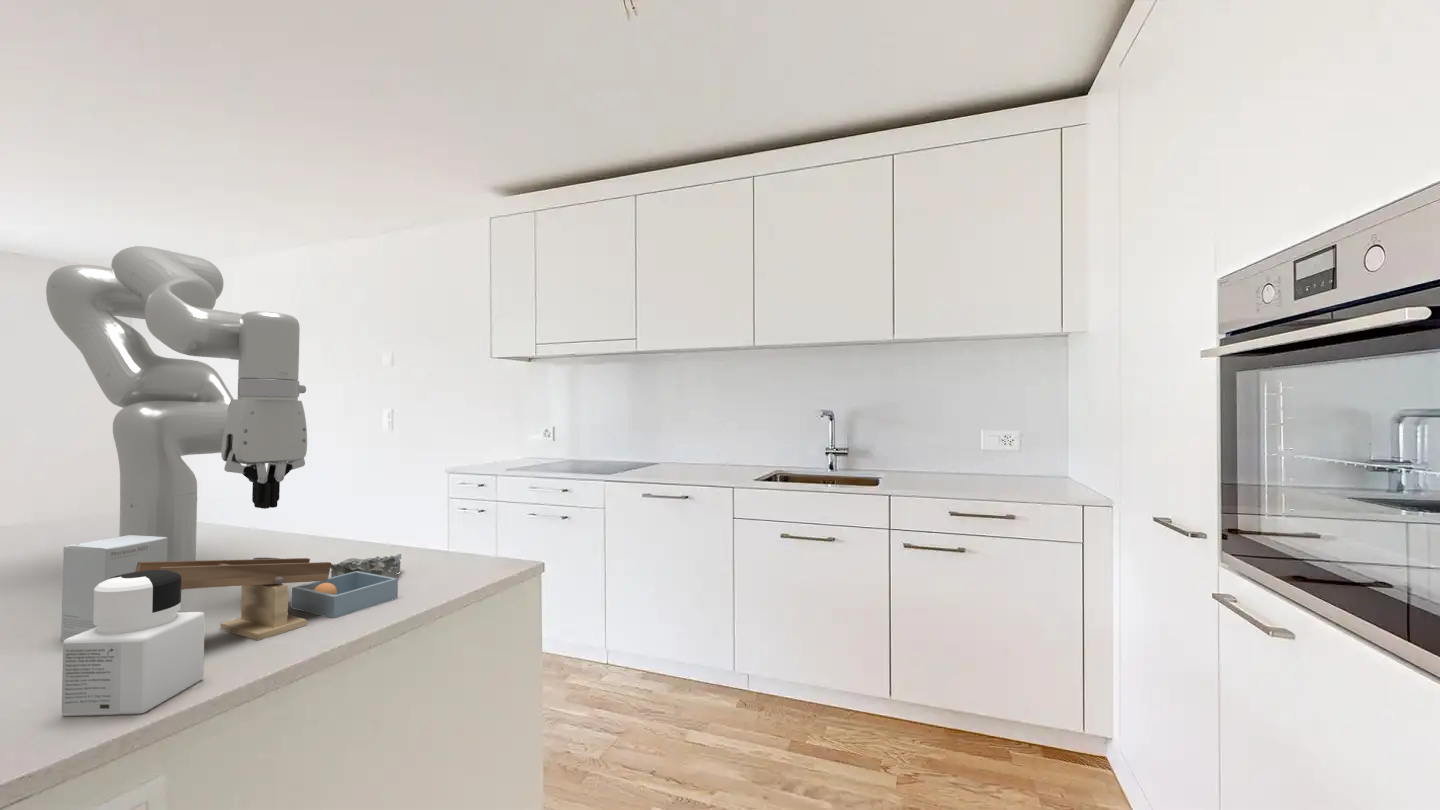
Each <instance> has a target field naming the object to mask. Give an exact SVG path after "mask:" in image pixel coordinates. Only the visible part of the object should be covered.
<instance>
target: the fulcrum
mask: <svg viewBox="0 0 1440 810" xmlns="http://www.w3.org/2000/svg"><path fill="white" fill-rule="evenodd" d="M288 591H289V585H287V584H286V583H282V584H263V585H246V586H241V596H240V597H241V600H240V605H241V606H240V607H241V609H240V611H241V612H240V617H237V618H235V619H231V620H228V621H224V622H221V623H220V627H219V628H220V630H222V631H226V632H230V633H232V634H236V635H239V636H242V637H245V638H248V639H251V640H255V641H261V640H264V639H266V638H271V637H273V636H277V635H280V634H282V633H286V632H289V631H292V630H295V629H298V628H302V627H305V626H307V619H305V618H302V617H297V616H295V615H290V614H288V607H289V606H288V605H289V604H288V600H289V599H288V595H289V593H288Z"/></svg>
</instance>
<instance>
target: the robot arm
mask: <svg viewBox="0 0 1440 810" xmlns="http://www.w3.org/2000/svg"><path fill="white" fill-rule="evenodd" d="M110 266H111V267H106V266H101V265H100V266H99V265H92V264H91V265H90V264H72V265H71V264H70V265H67V266H65V265H64V266H62V267H59V268H57V269H55V270H54V271H52V272H51V274H50V276H49V277H48V278H47V282H46V286H45V293H46V294H45V296H46V301H47V303H46V304H47V306H48V310H49V312H50V315H51V317H52V319H53V320H54V322H55V323H56V325H57V326H58V328H59V329H60V330H61V331H62V332H63V334H64V335H65V336H66V337H67V338H68V339H69V341H71V343H73V345H74V346H75V347H76V348H77V349H78V350H79V351H80V353H81V354H82V356H83V358H84V360H85V363H86V365H87V367H88V368H89V369H90V371H91V373H92V375H93V376H94V379H95V380H96V382H97V384H98V386H99V387H100V390H101V391H102V393H103V394H104V396H105V397H106V398H107V400H108V401H109V402H110V403H112V405H115V406H117V407H120V408H122V409H120V410H119V411H118V412H117V413H116V415H115V416H114V418H113V421H112V435H113V440H114V443H115V447H116V453H117V458H118V465H119V534H118V535H119V536H118V537H122V536H128V535H136V536H155V537H167V538H168V543H167V561H197V527H198V525H197V524H198V523H197V522H198V521H197V519H198V517H197V516H198V514H197V513H198V511H197V510H198V480H197V478H196V475H195V473H194V471H193V470H192V469H191V467H190V466H188V465H187V463H186V462H185V461H184V459H182V457H183V456H192V455H207V454H209V455H210V454H211V455H212V454H219V453H220V454H221V456H220V457H221V459H222V461H224V462H225V465H224V471H225V472H228V473H235V474H242V475H243V476H244V477H245V478H246V479H248V481H249V482H250V483H252V493H251V494H252V495H251V496H252V497H251V498H252V499H251V501H252V503H253V505H254V508H257V509H264V510H265V509H270V508H277V507H278V501H280V488H281V485H280V484H281V482H283V481H284V480H285V477H286V475H288V474H289V473H290V472H291V471H292V470H296V469H299V468H303V467H305V465H306V460H305V458H306V456H307V452H308V431H307V430H308V428H307V419H306V413H305V408H304V405H303V401H302V400H299V397H300V394H305V393H306V392H307V388H306V385H304V384H303V385H301V384H300V381H299V372H300V371H299V369H300V367H299V365H300V364H299V363H300V329H301V327H300V326H301V325H300V322H299V320H298V319H297V318H296V317H295V316H292V315H289V314H286V313H282V312H281V313H280V312H273V311H257V310H256V311H247V312H245V313H238V312H231V311H226V310H225V311H224V310H219V309H214V307H215V305H216V302H217V300H218V299H219V297H220V296H221V295H222V292H223V289H224V277H223V275H222V273H221V271H220V269H219V268H218V266H216V265H215V264H214V263H213V262H211V261H210V260H207V259H205V258H203V257H198V256H194V255H190V254H185V253H181V252H176V251H170V250H166V249H162V248H158V247H153V246H139V245H137V246H135V245H134V246H130V247H126V248H123V249H121V250H120V251H118V252H117V253H116V254H115V255H114V256H113V258H112V259H111V265H110ZM118 317H123V318H130V319H139V320H145V324H146V328H147V330H148V331H149V333H150V334H151V335H152V336H153V337H154V338H155V339H157V340H158V341H159V342H161V343H162V344H164V345H165V346H166V347H168V348H169V349H171V350H172V351H175V352H176V353H178V354H182V355H186V356H191V357H199V358H214V359H215V358H216V359H228V360H234V361H235V360H238V365H237V370H238V371H237V399H234V397H233V395H232V394H231V392H230V390H229V389H228V387H227V385H226V384H225V382H224V381H223V379H222V377H221V375H220V374H219V373H218V371H217V370H216V369H215V368H213V366H210V365H209V364H208V363H205V362H202V361H200V360H194V359H184V358H173V357H165V356H160V355H157V354H156V353H155V352H154V350H153V349H152V348H151V347H150V345H149V343H148V341H147V340H146V338H145V337H144V335H142V334H141V333H140V332H138V330H137V329H135V328H134V327H132V326H131V325H129V324H127V323H126V322H124V320H123V321H122V320H121V319H119V318H118ZM266 464H267V468H266Z"/></svg>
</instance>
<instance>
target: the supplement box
mask: <svg viewBox="0 0 1440 810" xmlns="http://www.w3.org/2000/svg"><path fill="white" fill-rule="evenodd" d="M167 543H168V538H167V537H155V536H136V535H128V536H122V537H119V536H118V537H116V536H115V537H110V538H105V539H98V540H92V541H86V542H80V543H74V544H69V545H65V546H63V558H62V559H63V560H62V561H63V565H62V588H61V589H62V592H61V593H62V594H61V595H62V596H61V621H60V622H61V627H60V628H61V629H60V641H61V642H64V640H65V639H67V638H69V637H72V636H75V635H77V634H80V633H83V632H85V631H88V630H90V629H93V628H96V627H98V626H96V625H94V624H93V618H94V588H95V587H96V586H97V585H98V584H99V583H101V582H103V581H105V580H107V579H109V578H112V577H115V576H118V575H122V574H127V573H132V572H135V571H136V567H137V563H138V562H158V561H167Z"/></svg>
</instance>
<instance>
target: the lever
mask: <svg viewBox="0 0 1440 810" xmlns="http://www.w3.org/2000/svg"><path fill="white" fill-rule="evenodd" d="M310 560H311V558H307V557H304V558H302V557H300V558H297V557H295V558H278V557H253V558H252V559H250V558H249V559H247V558H246V559H214V560H213V559H210V560H205V559H204V560H196V561H158V562H138V563H137V567H136V571H135V572H139V571H147V570H168V571H173V572H177V573H178V574H180V575H181V590H191V589H208V588H209V589H210V588H223V587H224V588H225V587H226V588H227V587H242V586H246V585H263V584H292V583H293V584H296V583H312V582H316V581H328V578H329V576H330V573H331V568H330V567H331V564H332V562H329V561H326V562H325V561H324V562H323V561H322V562H311V561H310Z"/></svg>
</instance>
